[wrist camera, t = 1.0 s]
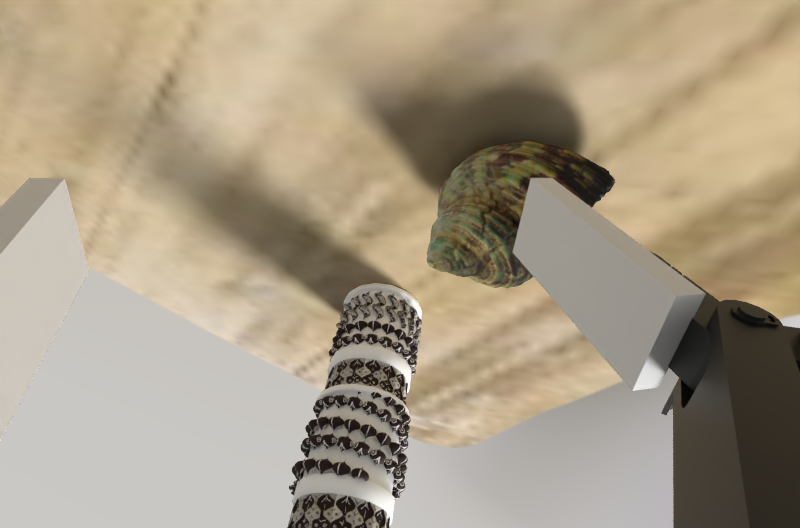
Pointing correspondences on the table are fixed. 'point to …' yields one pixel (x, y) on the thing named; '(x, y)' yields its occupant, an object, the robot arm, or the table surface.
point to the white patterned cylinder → (360, 415)
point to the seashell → (501, 207)
